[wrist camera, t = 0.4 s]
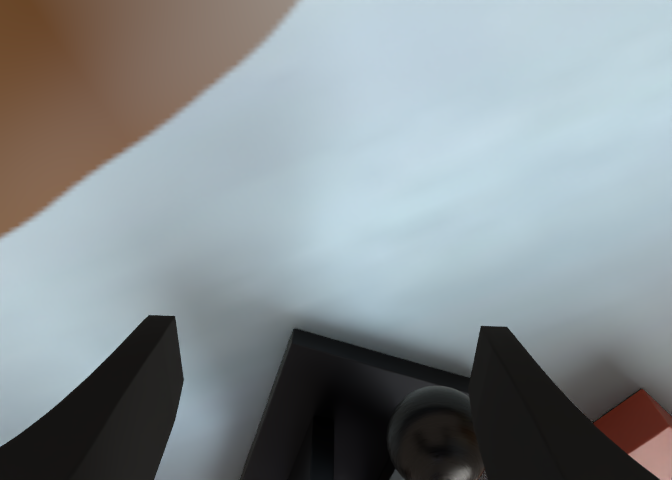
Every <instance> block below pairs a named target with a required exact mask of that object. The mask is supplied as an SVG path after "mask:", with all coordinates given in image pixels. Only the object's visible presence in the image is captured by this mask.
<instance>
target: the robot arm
mask: <svg viewBox="0 0 672 480" xmlns="http://www.w3.org/2000/svg"><path fill="white" fill-rule="evenodd" d="M183 381H184V378H183V371H182V364H181V356H180V349H179V342H178V335H177V327H176V320H175V316H158V315H149V316H148V317H147V318H145V319H144V320H143V321H142V322H141V323H140V325H139V326H138V327H137V328H136V329H135V330H134V331H133V332H132V333H131V334H130V335H129V336H128V337H127V338H126V339H125V340H124V341H123V343H122V344H121V345H120V346H119V347H118V348H117V349H116V350H115V351H114V352H113V353H112V354H111V355H110V356H109V357H108V358H107V359H106V360H105V361H104V362H103V363H102V364H101V365H100V366H99V367H98V368H97V369H96V370H95V371H94V372H93V373H92V374H91V375H90V376H89V377H88V378H86V379H85V380H84V381H83V382H82V383H81V384H80V385H79V386H78V387H77V388H75V389H74V390H73V391H72V392H71V393H70V394H69V395H68V396H66V397H65V398H64V399H63V400H62V401H61V402H60V403H59V404H57V405H56V406H55V407H54V408H53V409H51V410H50V411H49V412H48V413H47V414H45V415H44V416H43V417H42V418H40V419H39V420H38V421H36V422H35V423H34V424H32V425H31V426H30V427H28V428H27V429H26V430H25V431H23V432H22V433H20V434H19V435H18V436H16V437H15V438H13V439H12V440H10V441H9V442H7V443H6V444H4V445H3V446H1V447H0V480H154V478H155V475H156V472H157V470H158V467H159V464H160V461H161V459H162V456H163V453H164V450H165V447H166V444H167V442H168V439H169V436H170V433H171V430H172V427H173V424H174V421H175V418H176V414H177V409H178V405H179V400H180V396H181V391H182V386H183ZM468 392H469V399H470V406H471V413H472V420H473V426H474V431H475V435H476V439H477V442H478V446H479V450H480V453H481V457H482V461H483V464H484V468H485V471H486V475H487V478H488V480H660V479H659V478H658V477H656V476H655V475H654V474H652V473H651V472H650V471H648V470H647V469H646V468H644V467H643V466H642V465H641V464H639V463H638V462H637V461H636V460H634V459H633V458H632V457H631V456H629V455H628V454H627V453H626V452H625V451H623V450H622V449H621V448H620V447H619V446H618V445H616V444H615V443H614V442H613V441H612V440H611V439H609V438H608V437H607V436H606V435H605V434H604V433H603V432H602V431H600V430H599V429H598V428H597V427H596V426H595V425H594V424H593V423H592V422H591V421H590V420H589V419H588V418H587V417H586V416H585V415H584V414H583V413H582V412H581V411H580V410H579V409H578V408H577V407H576V406H575V405H574V404H573V403H572V402H571V401H570V400H569V399H568V398H567V397H566V396H565V395H564V393H563V392H562V391H561V390H560V389H559V388H558V387H557V386H556V385H555V383H554V382H553V381H552V380H551V379H550V378H549V377H548V376H547V374H546V373H545V372H544V371H543V370H542V369H541V367H540V366H539V365H538V364H537V363H536V361H535V360H534V359H533V358H532V357H531V355H530V354H529V353H528V352H527V351H526V349H525V348H524V347H523V346H522V344H521V343H520V342H519V341H518V340H517V338H516V337H515V336H514V335H513V333H512V332H511V331H510V330H509V329H508V328H507V327H495V326H481V328H480V333H479V338H478V343H477V348H476V353H475V358H474V363H473V368H472V373H471V377H470V382H469V387H468Z"/></svg>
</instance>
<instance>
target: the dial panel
mask: <svg viewBox="0 0 672 480" xmlns="http://www.w3.org/2000/svg"><path fill="white" fill-rule="evenodd" d="M593 424H594V425H595V426H596V427H597V428H598V429H599V430H600V431H602V432H603V433H604V434H605V435H606V436H607V437H608V438H609V439H611V440H612V441H613V442H614V443H615V444H616V445H618V446H619V447H620V448H621V449H622V450H623V451H625V452H626V453H627V454H628V455H629V456H631V457H632V458H633V459H634V460H636V461H637V462H638V463H639V464H641V465H642V466H643V467H644V468H646V469H647V470H648V471H650V472H651V473H652V474H654V475H655V476H656V477H658V478H659V479H660V480H672V416H671V415H669V414H668V413H667V412H666V411H665V410H664V409H663V408H662V407H661V406H660V405H659V404H658V403H657V402H656V401H655V400H654V399H653V398H652V397H651V396H650V395H649V394H648V393H647V392H645V391H644V390H643V389H641V390H639V391H638V392H637V393H635V394H634V395H632V396H631V397H629V398H628V399H627V400H625V401H624V402H622V403H621V404H620V405H618V406H617V407H615V408H614V409H612V410H611V411H610V412H608V413H607V414H605V415H604V416H602V417H601V418H600V419H598V420H597V421H595V422H594V423H593Z"/></svg>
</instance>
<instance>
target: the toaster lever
mask: <svg viewBox="0 0 672 480" xmlns="http://www.w3.org/2000/svg"><path fill="white" fill-rule="evenodd" d="M386 440H387V448H388V452H389V456H390V459H391V461H392V463H393V465H394V467H395V471H394V472H393V474H392V476H391V478H390V479H389V480H478V479H479V478H480V477H481V475H482V474H483V472H484V471H485V468H484V464H483V461H482V457H481V453H480V450H479V446H478V442H477V439H476V435H475V431H474V426H473V420H472V413H471V406H470V399H469V397H468V396H467V395H465V394H464V393H462V392H460V391H458V390H456V389H453V388H450V387H445V386H427V387H423V388H420V389H417V390H415V391H413V392H411V393H410V394H408V395H407V396H406V397H404V398H403V399H402V400H401V401H400V402H399V403H398V405H397V406H396V408H395V409H394V411H393V412H392V415H391V417H390V419H389V423H388V427H387V439H386Z"/></svg>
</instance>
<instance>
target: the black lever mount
mask: <svg viewBox="0 0 672 480" xmlns="http://www.w3.org/2000/svg"><path fill="white" fill-rule="evenodd" d="M469 382H470V378H467V377H463V376H460V375H456V374H453V373H449V372H446V371H442V370H439V369H435V368H432V367H428V366H425V365H421V364H418V363H414V362H411V361H407V360H404V359H400V358H397V357H393V356H390V355H386V354H383V353H379V352H376V351H372V350H369V349H365V348H361V347H358V346H354V345H351V344H347V343H344V342H340V341H337V340H333V339H330V338H326V337H323V336H319V335H316V334H312V333H309V332H305V331H302V330H298V329H295V328H294V329H293V331H292V334H291V337H290V339H289V342H288V345H287V348H286V351H285V353H284V356H283V359H282V362H281V365H280V368H279V370H278V373H277V376H276V379H275V382H274V384H273V387H272V390H271V393H270V396H269V398H268V401H267V404H266V407H265V410H264V412H263V415H262V418H261V421H260V424H259V426H258V429H257V432H256V435H255V438H254V441H253V443H252V446H251V449H250V452H249V455H248V457H247V460H246V463H245V466H244V469H243V471H242V474H241V477H240V480H389V479H390V478H391V476H392V474H393V472H394V471H395V467H394V465H393V463H392V461H391V459H390V456H389V452H388V448H387V440H386V439H387V427H388V423H389V419H390V417H391V415H392V412H393V411H394V409H395V408H396V406H397V405H398V403H399V402H400V401H401V400H402V399H403V398H404V397H406V396H407V395H408V394H410V393H411V392H413V391H415V390H417V389H420V388H423V387H427V386H445V387H450V388H453V389H456V390H458V391H460V392H462V393H464V394H465V395H467V396H468V397H469V392H468V387H469Z"/></svg>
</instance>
